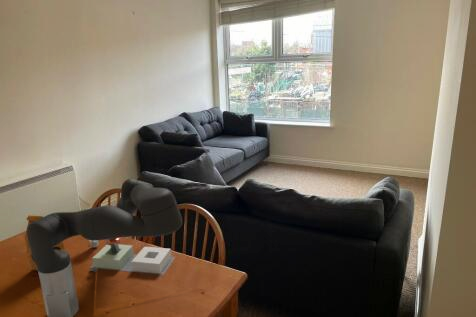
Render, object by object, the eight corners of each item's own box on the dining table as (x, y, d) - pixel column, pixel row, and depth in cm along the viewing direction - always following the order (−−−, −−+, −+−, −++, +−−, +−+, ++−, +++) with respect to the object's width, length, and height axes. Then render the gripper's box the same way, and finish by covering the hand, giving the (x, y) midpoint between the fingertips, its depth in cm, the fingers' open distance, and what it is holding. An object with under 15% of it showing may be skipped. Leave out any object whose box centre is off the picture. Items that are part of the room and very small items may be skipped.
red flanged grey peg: (123, 253, 141) (117, 219, 138) (107, 256, 139) (100, 222, 137) (123, 246, 147) (117, 214, 144) (108, 250, 145) (101, 217, 142)
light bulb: (85, 245, 159) (81, 220, 156) (102, 241, 162) (99, 217, 159) (86, 253, 153) (82, 226, 150) (104, 249, 156) (100, 223, 153)
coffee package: (50, 278, 136) (40, 224, 130) (27, 271, 141) (16, 219, 135) (72, 264, 145) (63, 213, 139) (49, 258, 150) (40, 209, 144)
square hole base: (175, 260, 146) (174, 248, 144) (163, 278, 134) (162, 265, 133) (107, 254, 152) (105, 242, 150) (90, 270, 140) (88, 258, 139)
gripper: (109, 229, 126) (96, 248, 137) (144, 215, 136) (129, 234, 147) (99, 210, 128) (88, 231, 139) (134, 198, 138) (121, 218, 149)
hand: (109, 232), depth 143 cm, fingers closed on red flanged grey peg, 3 cm apart
